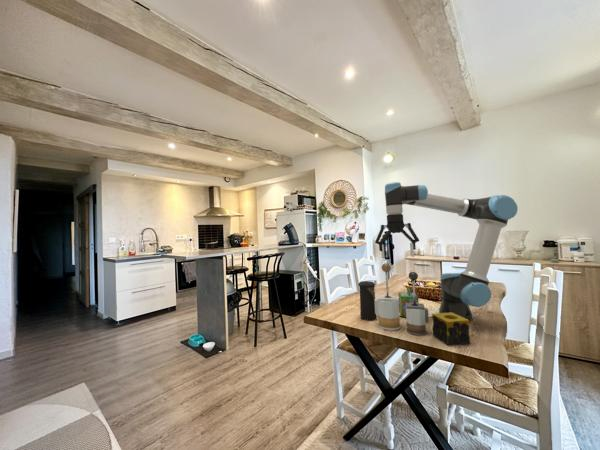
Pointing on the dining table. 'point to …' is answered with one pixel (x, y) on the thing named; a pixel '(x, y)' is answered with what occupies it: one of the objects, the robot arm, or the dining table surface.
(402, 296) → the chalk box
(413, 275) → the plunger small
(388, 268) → the plunger large
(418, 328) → the press small
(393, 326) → the press large
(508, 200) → the robot arm
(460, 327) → the dark box with hole
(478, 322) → the dining table surface
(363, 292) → the container
